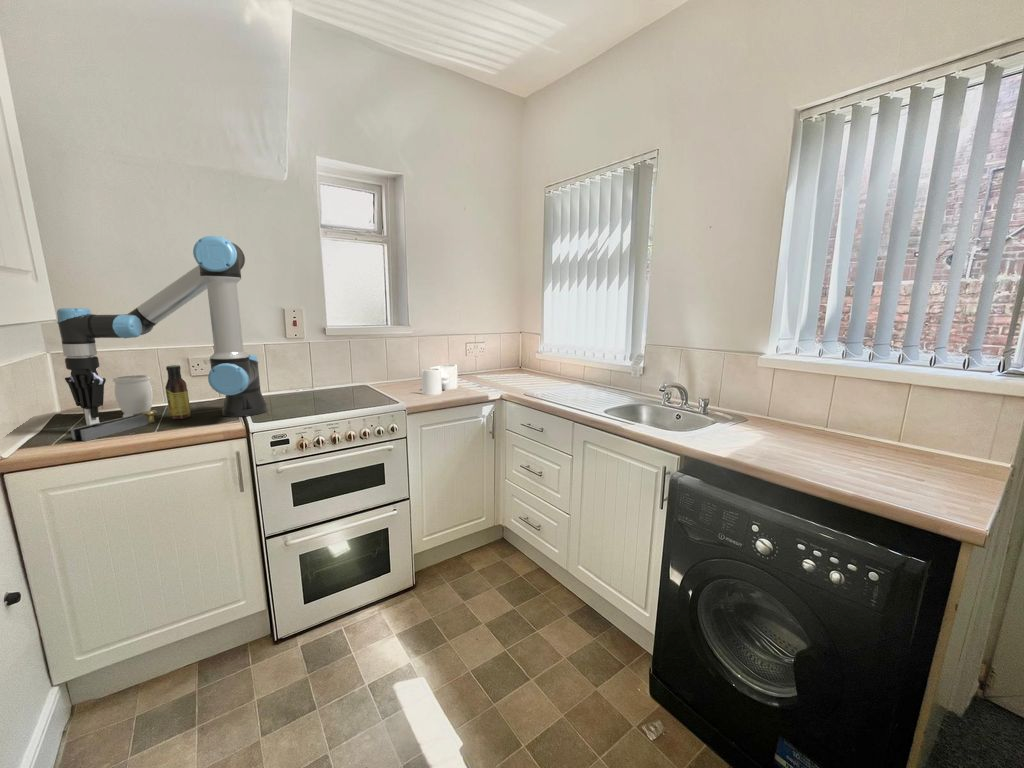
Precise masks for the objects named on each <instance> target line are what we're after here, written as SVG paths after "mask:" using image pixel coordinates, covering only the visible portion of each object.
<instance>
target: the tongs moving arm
mask: <svg viewBox="0 0 1024 768" xmlns="http://www.w3.org/2000/svg"><path fill="white" fill-rule="evenodd" d="M157 413H158V411H157V410H155V409H153V410H152V409H150V411H144V412H141V413H137V414H133V415H132V416H127V417H123V416H122V417H120V418H119V417H118V418H114V419H110V420H105V421H102V422H100V421H99V422H100V423H96V424H92V425H87V424H86V425H83V426H79V427H78V426H77V427H75V428H71V429H70V434H71V439H72V441H79V440H81V435H80V430H82V429H86V428H90V427H94V426H98V425H104V424H108V423H112V422H116V421H120V420H124V419H128V418H132V417H136V416H140V415H157Z"/></svg>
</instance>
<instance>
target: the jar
mask: <svg viewBox="0 0 1024 768" xmlns="http://www.w3.org/2000/svg"><path fill="white" fill-rule="evenodd" d="M150 379H151V376H150V375H145V374H144V375H143V374H141V375H139V374H138V375H137V374H136V375H126V376H119V377H115V378H112V382H113V383H115V384H114V396H115V399H116V403H117V404H118V406H119V407H118V408H119V410H120V411H122V413H123V414H122V418H123V417H127V416H132V415H133V414H137V413H141V412H144V411H150V410H152V409H151V408H152V406H153V396H154V395H153V393H154V392H153V387H152V384H151V382H150V381H149V380H150Z"/></svg>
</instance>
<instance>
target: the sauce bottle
mask: <svg viewBox="0 0 1024 768" xmlns="http://www.w3.org/2000/svg"><path fill="white" fill-rule="evenodd" d="M165 369H166V372H167V382H166V385H165V393H166V399H167V401H166V402H167V407H168V412H169V416H170V418H171V419H172V420H182V419H188V418H190V417H191V415H192V414H191V404H190V399H189V392H188V391H189V390H188V388H187V387H188V386H187V383H186V381H185V380H184V379H183V378H182V374H181V365H179V364H177V365H176V364H175V365H174V364H173V365H166V367H165Z"/></svg>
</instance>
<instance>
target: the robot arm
mask: <svg viewBox="0 0 1024 768" xmlns="http://www.w3.org/2000/svg"><path fill="white" fill-rule="evenodd" d="M192 249H193V250H192V253H193V258H194V259H195V261H196V262H195V263H197V265H196V266H195V267H194V268H193V267H192V269H190V270H189V271H188V272H186V273H184V274H183V275H182V276H180V277H179V278H178V279H176V280H175V281H173V282H172V283H170V284H169V285H167V286H165V288H162V289H161V290H160V291H159V292H157V293H156V294H154V295H153V296H151V297H150V298H149V299H147V300H146V301H144V302H143V303H141V304H140V305H139V306H137V307H136V308H134V309H133V310H131V311H130V312H128V313H124V314H123V313H122V314H93V313H92V312H91V310H90V308H83V307H74V308H73V307H63V308H62V307H61V308H58V309H57V310H56V316H57V318H56V319H57V322H56V323H57V324H58V329H59V335H60V339H61V347H62V353H63V354H62V355H63V356H64V357H65V359H64V363H65V368H66V369H67V370H68V371H71V372H70V376H68V377H65V378H64V381H65V382H66V383H67V385H68V386H69V390H70V392H71V395H72V397H73V401H74V402H75V405H76V407H81V409H82V410H83V415H84V418H85V423H86V426H87V425H92V424H96V423H100V419H99V418H100V414H99V407H102V406H104V397H105V395H104V394H105V383H106V381H107V379H106V377H100V376H99V373H98V371H97V369H98V368H99V367H100V363H99V357H98V356H97V355H98V350H97V345H96V339H100V338H101V339H109V338H111V339H133V338H138V337H140V336H143V335H146V334H148V333H150V332H152V330H153V329H154V327H155V326H156V325H158V323H160V322H161V321H163V320H165V319H166V318H167V317H168V316H170V315H172V314H173V313H174V312H176V311H177V310H178V309H180V308H182V307H183V306H184V305H186V304H187V303H189V302H190V301H192V300H193V299H194V298H196V297H197V296H200V294H202V293H203V292H205V291H206V290H207V298H208V306H209V313H210V314H209V315H210V323H211V332H212V334H211V335H212V342H213V351H214V352H213V353H212V355H210V356H209V361H210V362H209V363H210V371H209V372H208V376H207V381H208V384H209V386H210V387H211V388H212V390H214V391H215V392H216V393H219V394H221V395H224V396H225V397H224V403H223V407H222V408H221V411H222V416H223V417H228V418H240V417H248V416H250V417H251V416H255V415H259V414H263V413H265V412H268V404H267V402H266V401H265V398H264V396H263V394H262V391H261V383H260V374H259V371H260V370H259V361H258V357H257V355H255V354H247V353H246V352H245V351H244V342H243V334H242V324H241V322H242V321H241V313H240V304H239V303H240V302H239V293H238V282H240V281H241V280H242V272H241V270H242V269H243V268H244V266H245V262H246V257H245V254H244V252H243V249H241V248H240V246H238V245H237V244H235V243H234V242H233V241H230V240H229V239H227V238H225V237H222V236H217V235H206V236H203V237H201V238H200V239H198V240H197V241H196V242H195V244H194V245H193V248H192Z"/></svg>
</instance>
